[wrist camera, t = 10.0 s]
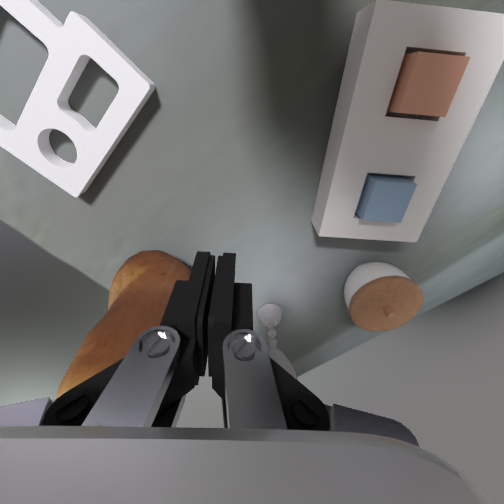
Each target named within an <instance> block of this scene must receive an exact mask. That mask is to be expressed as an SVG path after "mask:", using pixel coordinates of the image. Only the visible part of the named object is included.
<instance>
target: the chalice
mask: <svg viewBox="0 0 504 504" xmlns="http://www.w3.org/2000/svg"><path fill="white" fill-rule="evenodd" d="M282 315H283V310H282V308H281V307H280V306H278V305H275V304H266V305H263V306H262V307H260V308H259V309H258V311H257V316H258V318H259V320H260V321H261V323H262V324H263V325H264V326H265V327H268V328H269V331H268V333H267V335H268V336H269V337H270V340H269V342H268V343H269V345H270V347H271V350H269V351H268V355H269V357H270V358H272V359H273V360H274V361H275V362H276V363H278V364H279V365H280V366H281V367H282V368H284V369H285V370H286V371H287V372H288V373H289V374H291V375H292V376H293V377H294V378H295V379H297V375H296V372H295V370H294V368H293V366H292V365H291V363H290V361H289V360H288V359H287V357H286V356H285V355H284V353H283V352H282V351H281V350H279V349H276V344H277V343H278V341H277V340H276V339H275V336H276V335H277V332H276V331H275V330H274V327H276V326H277V325H278V324H279V323H280V320H281V318H282Z"/></svg>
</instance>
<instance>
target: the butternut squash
mask: <svg viewBox="0 0 504 504" xmlns="http://www.w3.org/2000/svg"><path fill="white" fill-rule="evenodd" d="M190 274H191V269H189V268H188V267H187V266H186V265H185V264H183V263H182V262H180V261H179V260H177V259H176V258H174V257H173V256H171V255H169V254H167V253H165V252H163V251H158V250H153V251H141V252H139V253H137V254H136V255H134V256H132V257H130V258H129V259H128V260H127V261H126V262H125V263H124V264H123V265H122V266H121V268H120V269H119V270H118V272H117V273H116V275H115V277H114V279H113V282H112V285H111V289H110V295H109V306H108V312H107V313H106V314H105V315H104V317H103V318H102V319H101V320H100V321H99V322H98V323H97V324H96V326H95V327H94V328H93V329H92V330H91V331H90V332H89V334H88V335H87V337H86V338H85V340H84V341H83V343H82V345H81V346H80V348H79V350H78V352H77V353H76V356H75V357H74V359H73V361H72V363H71V365H70V367H69V369H68V371H67V372H66V374H65V376H64V378H63V380H62V382H61V384H60V386H59V389H58V393H57V397H56V399H57V398H58V397H60V396H61V395H62V394H64V393H65V392H67V391H68V390H70V389H72V388H73V387H75V386H77V385H78V384H80V383H82V382H84V381H85V380H87V379H89V378H90V377H92V376H94V375H95V374H97V373H99V372H100V371H102V370H104V369H106V368H107V367H109V366H111V365H112V364H114V363H116V362H117V361H119V360H121V359H122V358H124V357H125V356H126V354H127V353H128V351H129V350H130V348H131V346H132V345H133V343H134V342H135V340H136V339H137V338H138V336H139V335H140V334H141V333H143V332H144V331H146V330H147V329H150V328H152V327H156V326H160V323H161V320H162V317H163V315H164V312H165V309H166V307H167V304H168V301H169V298H170V296H171V293H172V290H173V287H174V285H175V282H176V281H177V280H189V277H190Z"/></svg>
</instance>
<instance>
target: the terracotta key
mask: <svg viewBox="0 0 504 504" xmlns="http://www.w3.org/2000/svg"><path fill="white" fill-rule="evenodd" d="M469 60H470V57H467V56H458V55H448V54H439V53H430V52H420V51H418V52H414V53H409V54H404V57H403V60H402V64H401V67H400V70H399V73H398V76H397V80H396V83H395V86H394V89H393V93H392V96H391V99H390V102H389V105H388V109H387V111H390V112H396V113H406V114H417V115H427V116H438V117H446V114H447V112H448V110H449V107H450V105H451V103H452V100H453V98H454V95H455V93H456V91H457V88H458V86H459V84H460V81H461V79H462V76H463V74H464V72H465V69H466V67H467V65H468V62H469Z"/></svg>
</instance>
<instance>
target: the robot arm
mask: <svg viewBox="0 0 504 504" xmlns="http://www.w3.org/2000/svg"><path fill="white" fill-rule="evenodd" d="M235 260H236V253H223V256H218V262H217V268H216V274H215V256H213V255H210V252H200V251H198V252H197V254H196V257H195V261H194V264H193V267H192V270H191V274H190V277H189V280H177V281H176V282H175V285H174V287H173V290H172V293H171V296H170V298H169V301H168V304H167V307H166V309H165V312H164V315H163V317H162V320H161V323H160V326H156V327H152V328H150V329H147V330H146V331H144V332H143V333H141V334H140V335H139V336H138V338H137V339H136V340H135V342H134V343H133V345H132V346H131V348H130V350H129V351H128V353H127V354H126V356H125V357H124V358H122V359H121V360H119V361H117V362H116V363H114V364H112V365H111V366H109V367H107V368H106V369H104V370H102V371H100V372H99V373H97V374H95V375H94V376H92V377H90V378H89V379H87V380H85V381H84V382H82V383H80V384H78V385H77V386H75V387H73V388H72V389H70V390H68V391H67V392H65V393H64V394H62V395H61V396H60V397H58V398H57V399H55V400H50V398H49V397H47V398H42V399H36V400H31V401H26V402H20V403H15V404H10V405H4V406H0V504H492V503H491V502H490V501H489V499H488V498H487V497H486V496H485V495H484V493H483V492H482V491H481V490H480V489H479V487H478V486H477V485H476V484H475V483H474V482H473V481H472V480H471V479H470V478H469V477H468V476H466V474H464V473H463V472H462V471H460V470H459V469H458V468H457V467H455V466H453V465H452V464H451V463H449V462H447V461H446V460H444V459H442V458H440V457H439V456H437V455H435V454H433V453H431V452H429V451H427V450H425V449H423V448H421V447H420V446H419V444H418V442H417V439H416V437H415V436H414V435H413V434H412V432H411V431H410V430H409V429H408V428H407V427H406V426H404V425H403V424H402V423H400V422H398V421H396V420H393V419H390V418H386V417H382V416H379V415H375V414H371V413H368V412H364V411H360V410H356V409H352V408H348V407H345V406H341V405H337V404H333V406H328V405H325V404H323V403H322V401H321V400H320V399H319V398H318V397H316V396H315V395H314V394H313V393H312V392H311V391H310V390H308V389H307V388H306V387H305V386H304V385H302V384H301V383H300V382H299V381H298V380H297V379H295V378H294V377H293V376H292V375H291V374H289V373H288V372H287V371H286V370H285V369H284V368H282V367H281V366H280V365H279V364H278V363H276V362H275V361H274V360H273V359H272V358H270V357H269V355H268V351H267V347H266V343H265V341H264V339H263V338H262V337H261V336H260V334H258V333H256V332H255V331H253V310H252V284H250V283H234V279H235ZM207 356H208V366H209V367H208V368H209V376H210V377H211V376H212V388H213V389H214V390H215V391H216V392H217V394H218V395H219V396H220V397H221V405H222V419H223V428H176V425H177V422H178V419H179V416H180V413H181V410H182V407H183V405H184V402H185V397H186V394H187V393H188V392H189V391H190V390H192V389H193V388H194V386H195V385H198V381H199V376H205V370H206V363H207Z"/></svg>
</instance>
